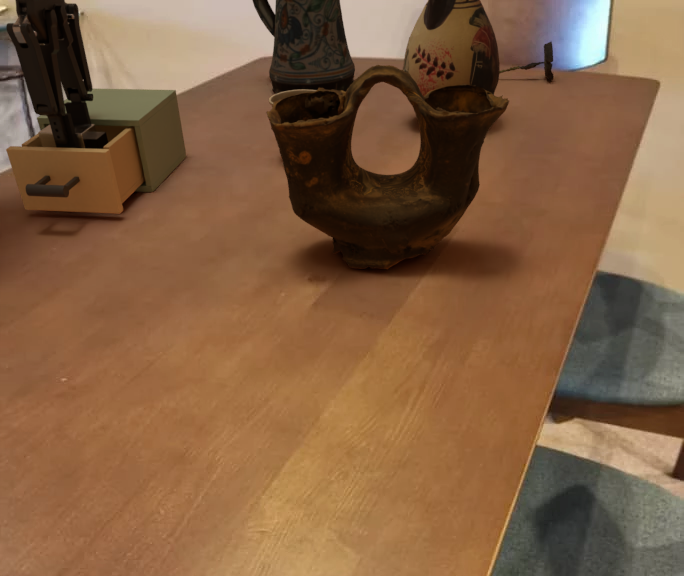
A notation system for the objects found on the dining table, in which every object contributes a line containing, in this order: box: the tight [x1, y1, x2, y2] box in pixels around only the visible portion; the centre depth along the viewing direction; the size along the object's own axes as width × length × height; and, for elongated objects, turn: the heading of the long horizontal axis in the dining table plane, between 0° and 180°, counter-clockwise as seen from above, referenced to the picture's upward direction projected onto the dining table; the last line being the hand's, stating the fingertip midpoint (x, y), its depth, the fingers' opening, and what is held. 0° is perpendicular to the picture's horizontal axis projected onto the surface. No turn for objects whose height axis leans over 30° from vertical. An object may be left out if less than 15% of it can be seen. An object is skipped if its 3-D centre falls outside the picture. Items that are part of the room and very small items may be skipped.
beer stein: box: [252, 0, 356, 94], centre depth 132 cm, size 16×19×25 cm
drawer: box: [5, 125, 145, 215], centre depth 96 cm, size 18×13×8 cm
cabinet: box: [36, 88, 187, 193], centre depth 105 cm, size 15×15×10 cm
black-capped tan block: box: [37, 124, 108, 149], centre depth 95 cm, size 8×4×4 cm, turn 80°
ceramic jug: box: [402, 0, 501, 102], centre depth 111 cm, size 17×15×30 cm
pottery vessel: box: [266, 64, 510, 271], centre depth 79 cm, size 25×11×20 cm, turn 89°
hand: (80, 160), depth 96 cm, fingers closed on black-capped tan block, 4 cm apart
